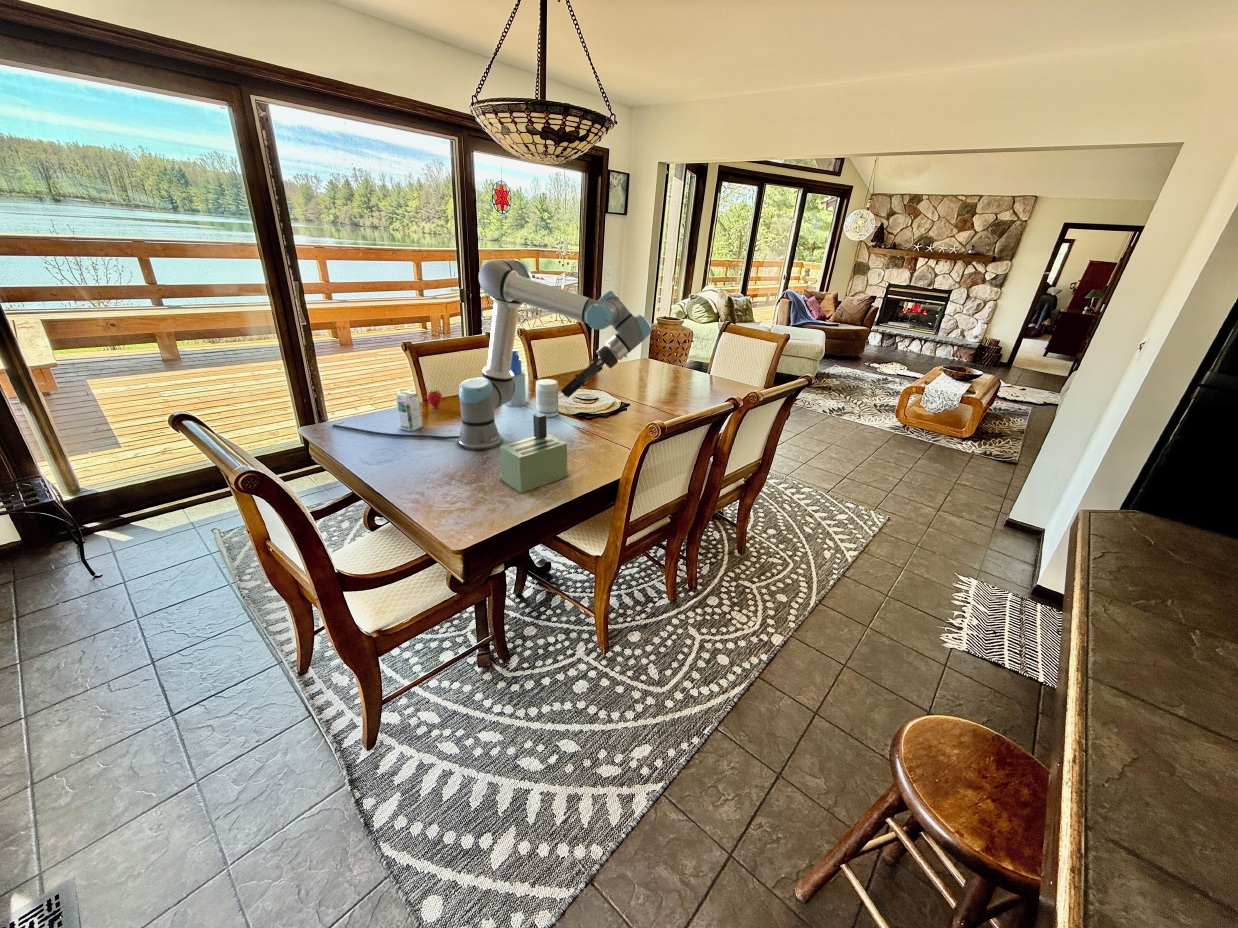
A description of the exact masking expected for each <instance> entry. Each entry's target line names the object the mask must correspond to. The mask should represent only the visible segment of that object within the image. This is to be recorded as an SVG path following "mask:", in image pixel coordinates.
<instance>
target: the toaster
mask: <svg viewBox="0 0 1238 928" xmlns="http://www.w3.org/2000/svg"><path fill="white" fill-rule="evenodd" d="M499 457H500V472H501V481H502V482H503V483H505V484H507V485H508V486H509V487H511V488H513V489H514V490H515V491H517V492H519V493H520V494H523V493H525V492H528V491H531V490H534V489H537V488H539V487H542V486H544V485H547V484H550V483H553V482H555V481H558V480H562V479H564V478H566V477H568V443H567V442H565V441H563V440H562V439H560V438H557V437H556V436H553V435H552V434H549V433H547V437H545V438H542V439H538V438H536V437H534V436H531V437H527V438H524V439H521V440H517V441H513V442H509V443H506V444H503V445H502V444H501V445H499Z"/></svg>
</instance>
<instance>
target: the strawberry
mask: <svg viewBox="0 0 1238 928" xmlns="http://www.w3.org/2000/svg"><path fill="white" fill-rule="evenodd" d="M442 397H443V395H442V393H441V392H440V390H439V389H438V388H436V389H435V388H434V387H433V389H428V393H426V400H427V401H428V403H429V404H430V405H431V406H432V407H433V408H434V409H438V407H439V406H440V404H441V402H442Z"/></svg>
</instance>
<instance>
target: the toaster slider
mask: <svg viewBox="0 0 1238 928" xmlns="http://www.w3.org/2000/svg"><path fill="white" fill-rule="evenodd" d="M532 416H533V417H532V420H533V437H536V438H538V439H542V438H545V437H547V434H548V432H547V431H548V430H547V429H548V428H547V417H546V415H544V414H542V413H539V414H537V413H536V414H533V415H532Z"/></svg>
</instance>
